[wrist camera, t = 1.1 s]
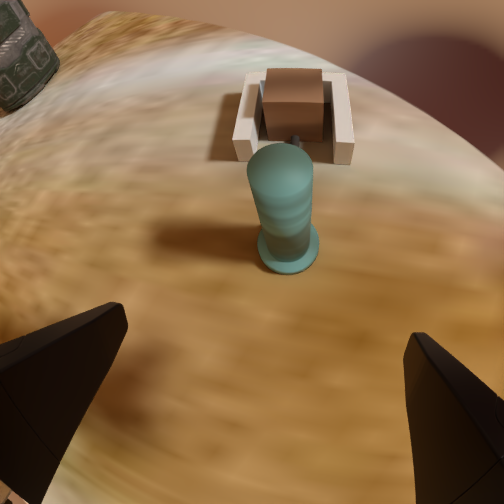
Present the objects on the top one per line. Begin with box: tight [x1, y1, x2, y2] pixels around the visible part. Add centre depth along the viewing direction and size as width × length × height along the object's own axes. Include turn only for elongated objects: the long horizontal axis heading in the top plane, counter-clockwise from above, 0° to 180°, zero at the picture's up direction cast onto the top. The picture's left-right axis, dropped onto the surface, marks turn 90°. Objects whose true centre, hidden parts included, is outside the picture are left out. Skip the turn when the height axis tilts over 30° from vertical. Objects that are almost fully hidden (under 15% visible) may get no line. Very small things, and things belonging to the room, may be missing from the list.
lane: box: [232, 72, 354, 165], centre depth 27 cm, size 10×10×3 cm
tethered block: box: [247, 68, 324, 275], centre depth 21 cm, size 18×5×10 cm, turn 173°
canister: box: [0, 0, 60, 111], centre depth 32 cm, size 16×16×28 cm
